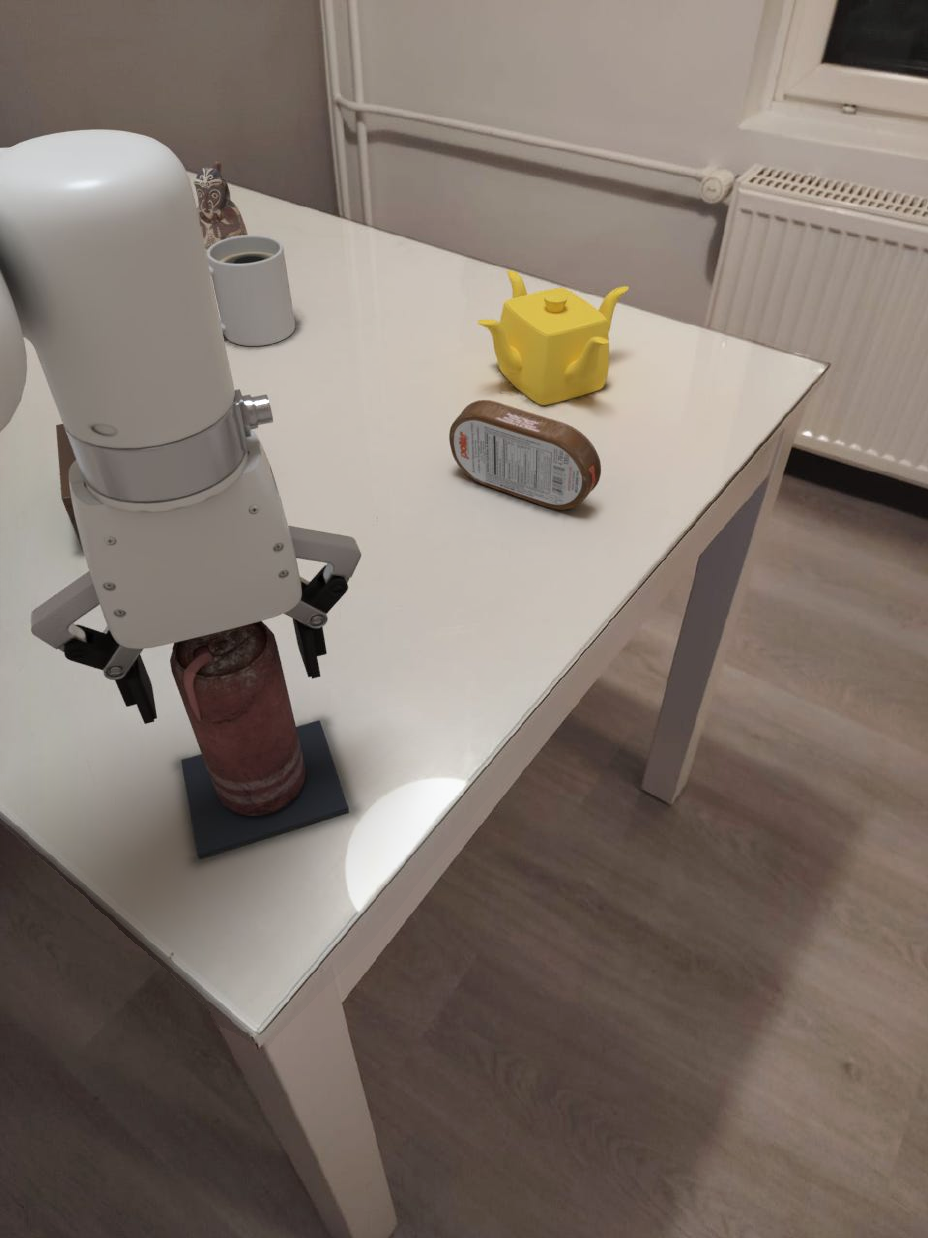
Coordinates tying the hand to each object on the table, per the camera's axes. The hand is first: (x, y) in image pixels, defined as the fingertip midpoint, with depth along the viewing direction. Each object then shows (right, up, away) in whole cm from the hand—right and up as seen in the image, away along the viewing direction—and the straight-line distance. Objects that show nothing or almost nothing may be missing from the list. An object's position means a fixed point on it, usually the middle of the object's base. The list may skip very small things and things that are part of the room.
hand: (230, 683), depth 52 cm
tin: (+19, +16, +32) cm, 41 cm away
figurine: (-20, +56, +73) cm, 94 cm away
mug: (-13, +40, +56) cm, 70 cm away
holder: (-17, +16, +32) cm, 39 cm away
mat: (0, -8, +8) cm, 11 cm away
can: (0, -8, +8) cm, 11 cm away
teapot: (+24, +32, +48) cm, 62 cm away
